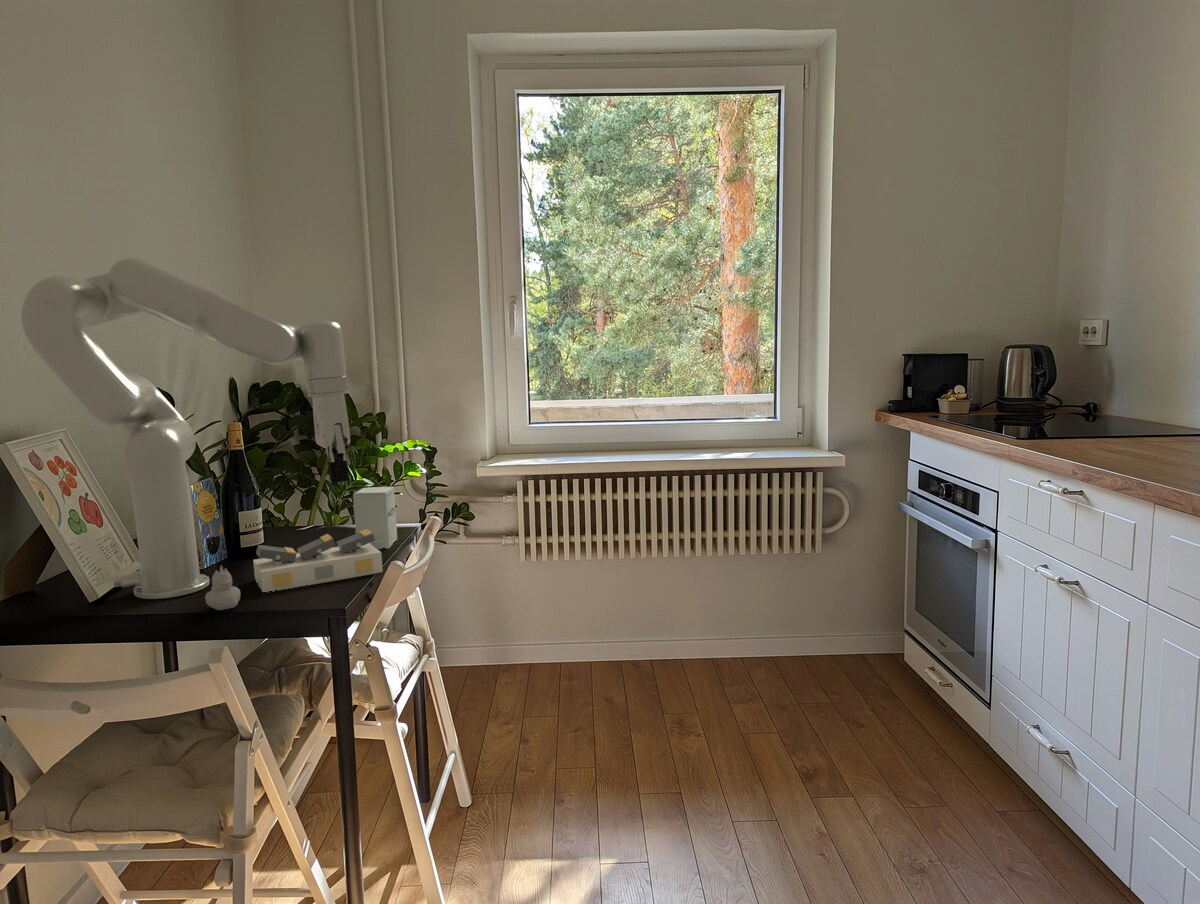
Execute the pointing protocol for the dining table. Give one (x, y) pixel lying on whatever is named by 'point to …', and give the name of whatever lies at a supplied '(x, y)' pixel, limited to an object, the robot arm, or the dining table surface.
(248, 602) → the dining table surface
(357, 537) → the rocker
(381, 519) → the supplement box
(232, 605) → the rubber duck
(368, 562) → the switch console
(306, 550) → the rocker
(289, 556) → the rocker
